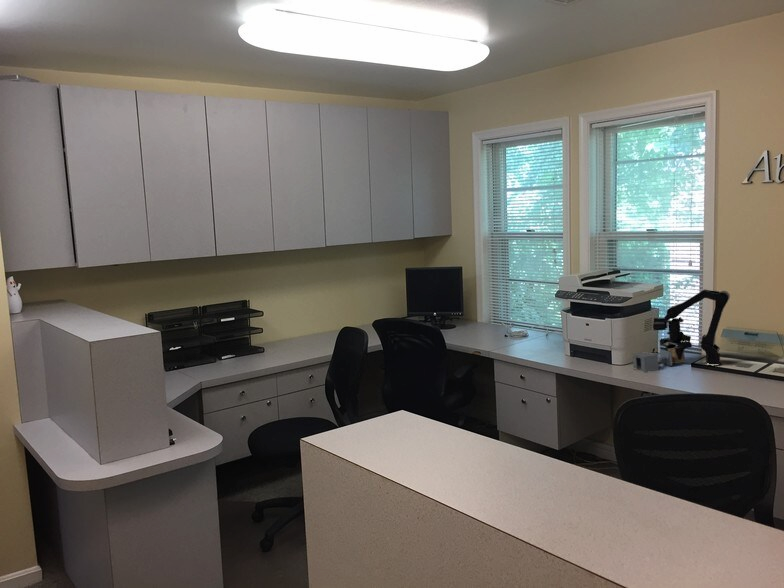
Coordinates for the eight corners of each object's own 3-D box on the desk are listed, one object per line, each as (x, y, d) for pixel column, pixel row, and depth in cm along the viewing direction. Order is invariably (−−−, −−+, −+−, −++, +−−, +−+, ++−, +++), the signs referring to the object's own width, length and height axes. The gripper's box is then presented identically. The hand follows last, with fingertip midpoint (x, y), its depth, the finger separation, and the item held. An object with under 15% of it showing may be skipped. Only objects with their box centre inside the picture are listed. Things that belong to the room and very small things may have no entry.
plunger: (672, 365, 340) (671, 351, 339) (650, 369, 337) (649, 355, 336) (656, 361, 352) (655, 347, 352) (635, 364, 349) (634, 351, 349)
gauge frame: (675, 367, 339) (673, 351, 338) (645, 372, 335) (643, 357, 334) (658, 362, 352) (657, 348, 351) (629, 367, 348) (628, 353, 347)
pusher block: (684, 361, 343) (683, 348, 342) (675, 363, 342) (674, 350, 341) (678, 359, 348) (677, 347, 347) (668, 361, 347) (667, 348, 346)
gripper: (699, 330, 336) (701, 359, 337) (676, 326, 354) (678, 353, 356) (681, 333, 333) (683, 362, 335) (658, 328, 352) (660, 356, 353)
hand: (676, 358), depth 345 cm, fingers closed on pusher block, 5 cm apart
